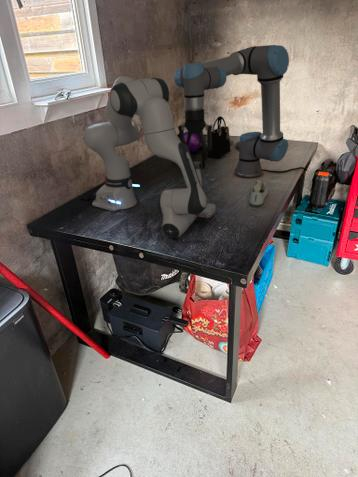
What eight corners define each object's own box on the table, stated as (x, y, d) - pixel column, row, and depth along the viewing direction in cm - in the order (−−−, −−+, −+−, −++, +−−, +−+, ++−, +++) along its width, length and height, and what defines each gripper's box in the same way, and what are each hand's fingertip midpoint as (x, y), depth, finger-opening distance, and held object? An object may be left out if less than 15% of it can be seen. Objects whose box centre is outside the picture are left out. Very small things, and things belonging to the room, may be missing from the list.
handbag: (218, 159, 217) (218, 119, 204) (206, 157, 221) (205, 119, 209) (231, 151, 232) (232, 114, 219) (219, 150, 236) (220, 113, 224)
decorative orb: (204, 151, 235) (204, 129, 228) (194, 156, 225) (193, 134, 217) (186, 149, 243) (186, 128, 235) (175, 154, 232) (174, 132, 224)
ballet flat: (269, 188, 169) (270, 173, 165) (265, 208, 149) (266, 191, 145) (252, 187, 171) (253, 172, 167) (246, 206, 151) (247, 190, 147)
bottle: (199, 210, 151) (198, 162, 139) (204, 214, 147) (203, 164, 136) (191, 212, 149) (189, 163, 138) (195, 216, 146) (193, 166, 134)
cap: (199, 165, 140) (198, 160, 139) (202, 168, 136) (202, 163, 135) (189, 167, 139) (189, 162, 138) (193, 170, 135) (193, 164, 134)
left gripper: (210, 209, 130) (220, 196, 141) (163, 203, 137) (176, 191, 148) (210, 223, 133) (220, 209, 144) (164, 217, 140) (177, 204, 151)
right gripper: (220, 106, 127) (219, 165, 138) (174, 107, 131) (177, 164, 143) (217, 110, 120) (216, 171, 132) (168, 110, 125) (172, 169, 137)
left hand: (197, 200), depth 146 cm, fingers closed on bottle, 4 cm apart
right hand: (196, 167), depth 137 cm, fingers open, 6 cm apart
